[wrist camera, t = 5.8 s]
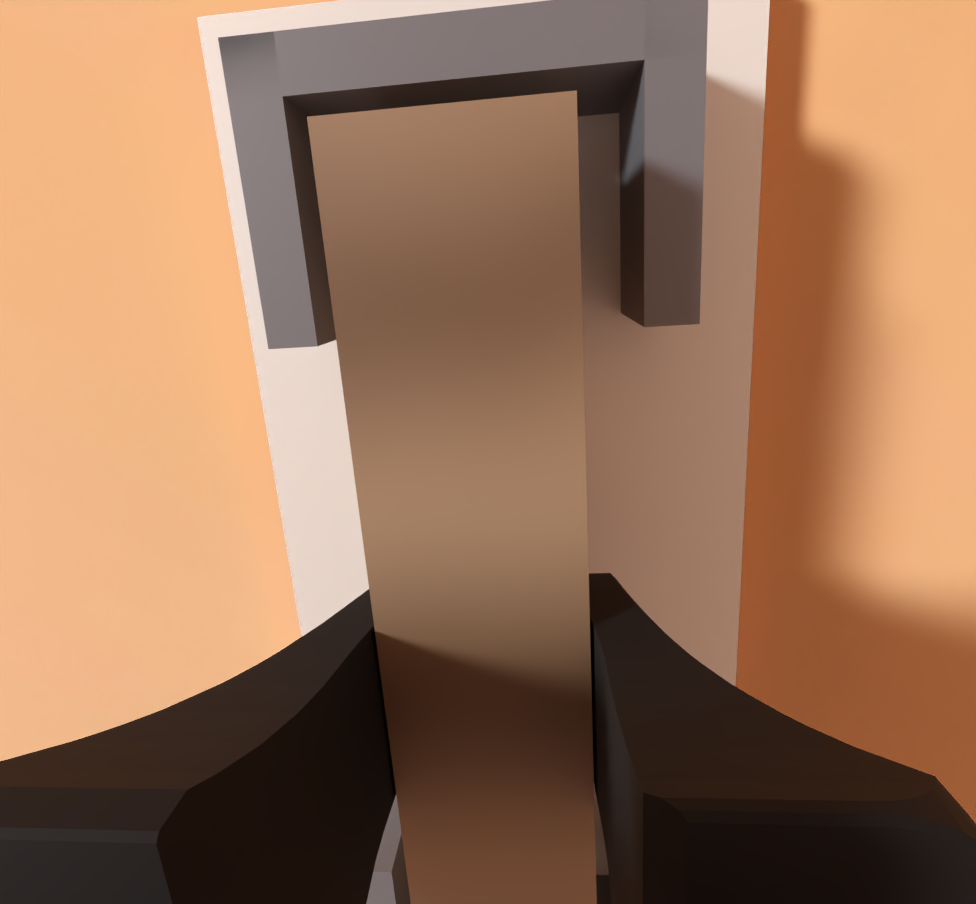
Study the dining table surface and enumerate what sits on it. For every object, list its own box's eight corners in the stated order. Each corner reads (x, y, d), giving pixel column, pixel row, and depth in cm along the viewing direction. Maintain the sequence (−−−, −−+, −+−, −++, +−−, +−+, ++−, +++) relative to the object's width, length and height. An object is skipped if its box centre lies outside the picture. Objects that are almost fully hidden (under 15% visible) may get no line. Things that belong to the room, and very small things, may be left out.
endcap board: (713, 906, 17) (760, 1086, 14) (361, 894, 18) (312, 1059, 15) (753, -24, 11) (859, -172, 7) (223, 36, 12) (79, -68, 8)
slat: (584, 849, 16) (601, 1098, 11) (467, 845, 16) (435, 1086, 11) (563, 163, 12) (576, 89, 7) (403, 177, 12) (306, 116, 7)
